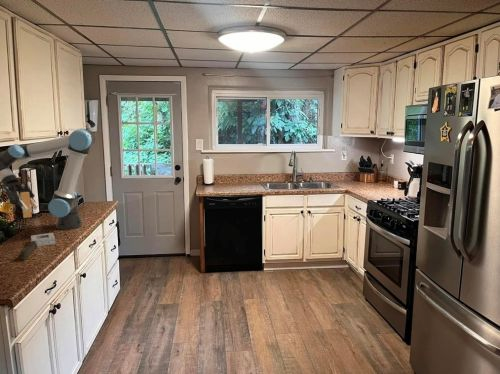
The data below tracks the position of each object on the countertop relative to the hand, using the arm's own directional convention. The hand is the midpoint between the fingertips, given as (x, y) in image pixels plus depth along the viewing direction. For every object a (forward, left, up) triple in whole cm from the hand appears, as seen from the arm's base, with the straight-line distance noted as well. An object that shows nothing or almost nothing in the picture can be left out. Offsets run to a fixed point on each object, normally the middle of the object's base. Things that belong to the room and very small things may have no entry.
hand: (31, 209), depth 211 cm
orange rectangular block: (+2, -3, -5) cm, 6 cm away
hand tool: (+4, +25, -19) cm, 31 cm away
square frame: (-4, +8, -18) cm, 20 cm away
